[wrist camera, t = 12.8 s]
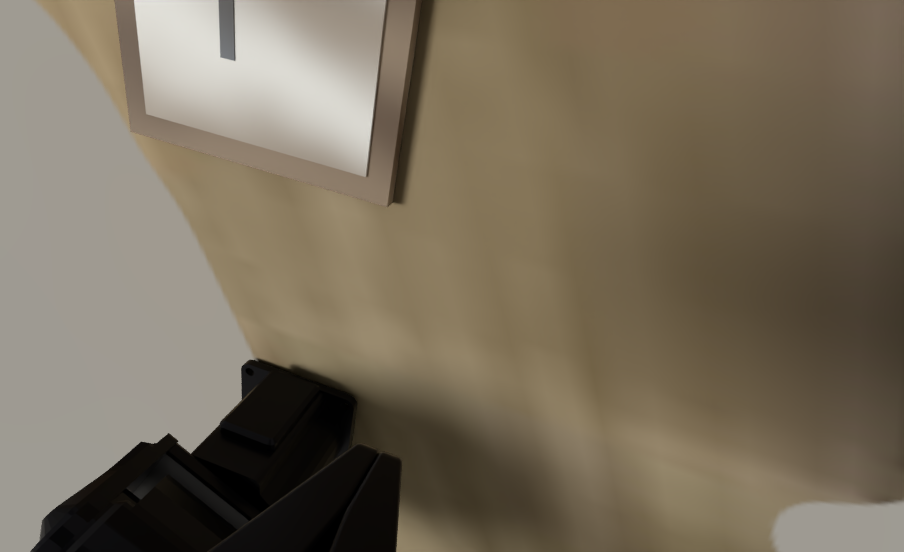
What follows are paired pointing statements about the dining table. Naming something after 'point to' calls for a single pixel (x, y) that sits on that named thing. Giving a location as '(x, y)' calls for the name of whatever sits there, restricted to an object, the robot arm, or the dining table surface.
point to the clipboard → (276, 84)
